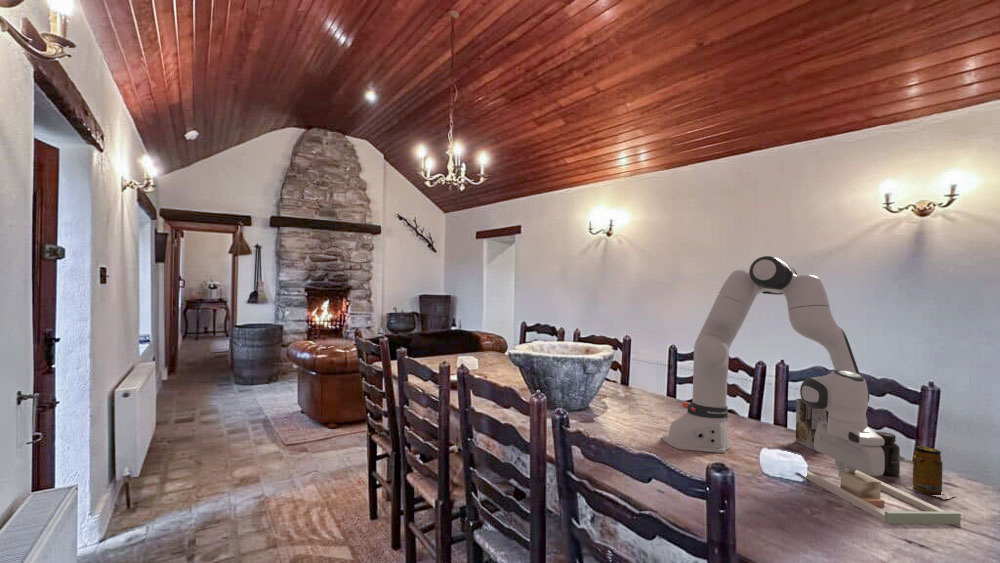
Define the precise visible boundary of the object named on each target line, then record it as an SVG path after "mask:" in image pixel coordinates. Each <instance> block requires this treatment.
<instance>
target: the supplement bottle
mask: <svg viewBox="0 0 1000 563" xmlns="http://www.w3.org/2000/svg"><path fill="white" fill-rule="evenodd" d="M875 433H877V434H878V435H879V436H881V437H882V438H883V439H884V445H883V446H880V447H881V448H882V449H883V451H884V456H885V468H884V473H883V474H882V475H881V476H888V477H899V476H900V474H901V449H900V446H899V445H898V444H897V443H896V441H897V440H896V435H895V434H893V433H890V432H885V431H875Z"/></svg>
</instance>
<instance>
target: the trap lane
mask: <svg viewBox="0 0 1000 563" xmlns="http://www.w3.org/2000/svg"><path fill="white" fill-rule="evenodd" d="M806 470H807V469H806ZM855 472H861V471H859V470H856V471H855ZM861 473H863V472H861ZM863 474H865V473H863ZM865 475H868V474H865ZM868 476H870V475H868ZM870 477H872V478H874V479H876V480H878V481H880V482H881V491H883V492H885V493H886V494H888V495H892V496H893V497H895V498H897V499H900V500H902V501H904V502H905V503H909V504H910V505H913V506H914V507H916V508H918V509H921V510H922V511H918V510H917V511H913V510H912V511H911V510H909V511H906V510H884V509H881V508H880V507H885V500H883V499H882V498H881V497H880V498H859V497H857V496H855V495H853V494H851V493H849V492H847V491H845V490H843V489H842V488H840V486H837V485H836V484H834V483H832V482H830V481H828V480H827V479H825V478H822V477H821V476H819V475H817V474H815V473H813V472H812V471H809V470H807V476H806V478H805V479H807V480H808V481H810V482H812V483H814V484H816V485H818V486H820V487H821V488H823V489H825V490H827V491H828V492H830V493H832V494H834V495H836V496H837V497H839V498H840V499H842V500H843V501H844V500H845V501H846V502H848V503H849V504H852V505H853V506H856V507H858V508H859V509H861V510H862V511H865V512H866V513H868V514H870V515H872V516H874V517H876V518H877V519H879V520H881V521H882V522H884V523H886V524H888V525H961V519H962V518H961V517H962V516H961V515H962V514H961V513H960V512H958V511H946V510H944V509H942V508H940V507H938V506H936V505H933V504H931V503H929V502H926V500H922V499H921V498H918V497H916V496H914V495H912V494H909V493H907V492H906V491H903V490H901V489H899V488H897V487H894V486H892V485H890V484H888V483H885V482H883V481H882V480H879V479H877V478H875V477H874V476H870Z"/></svg>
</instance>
